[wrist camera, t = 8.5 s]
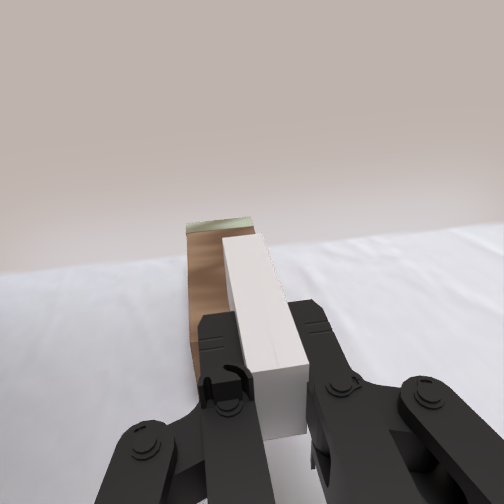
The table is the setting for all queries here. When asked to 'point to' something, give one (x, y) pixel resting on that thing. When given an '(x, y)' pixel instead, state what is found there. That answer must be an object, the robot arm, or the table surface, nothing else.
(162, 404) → the table surface
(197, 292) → the walnut block
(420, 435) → the robot arm
